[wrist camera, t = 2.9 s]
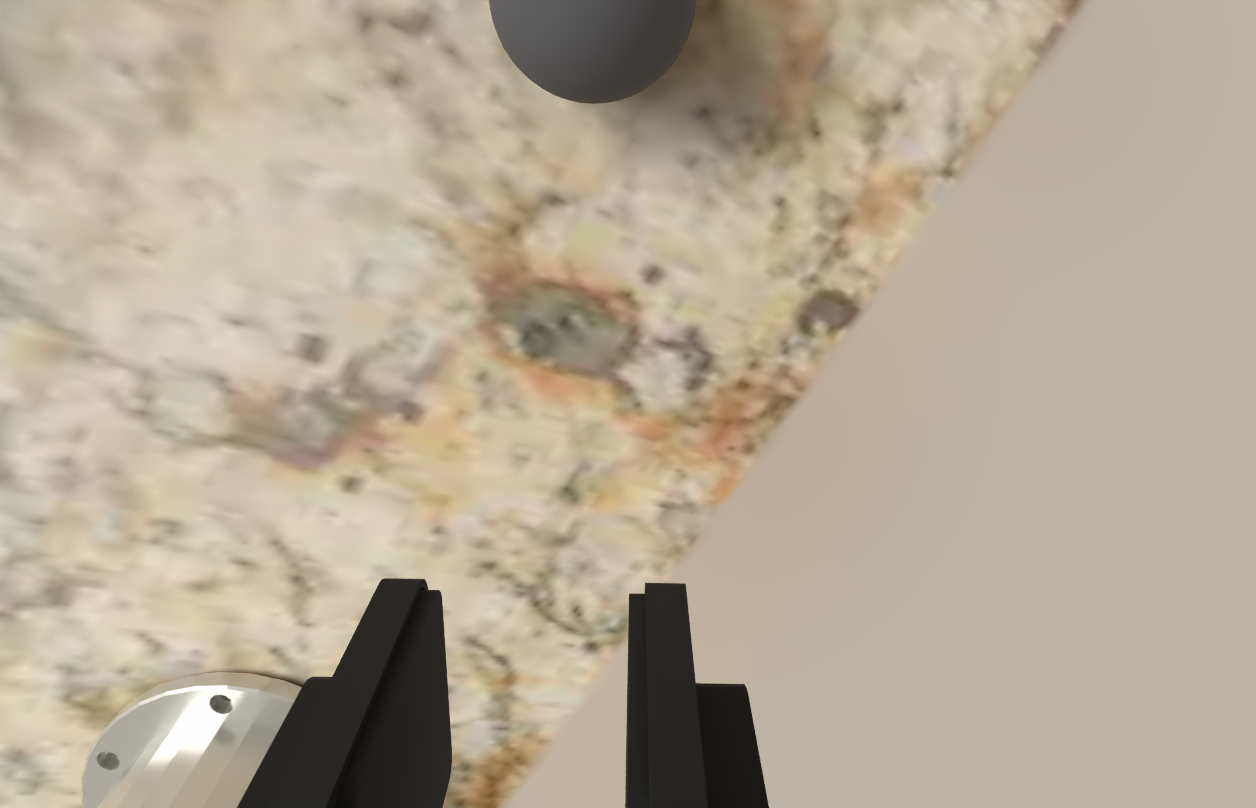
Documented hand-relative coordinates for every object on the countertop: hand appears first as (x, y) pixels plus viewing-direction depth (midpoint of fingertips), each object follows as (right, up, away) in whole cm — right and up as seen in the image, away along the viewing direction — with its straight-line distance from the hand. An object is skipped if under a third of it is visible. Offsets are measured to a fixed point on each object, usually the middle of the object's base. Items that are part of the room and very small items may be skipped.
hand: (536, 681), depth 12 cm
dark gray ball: (0, +15, +12) cm, 19 cm away
